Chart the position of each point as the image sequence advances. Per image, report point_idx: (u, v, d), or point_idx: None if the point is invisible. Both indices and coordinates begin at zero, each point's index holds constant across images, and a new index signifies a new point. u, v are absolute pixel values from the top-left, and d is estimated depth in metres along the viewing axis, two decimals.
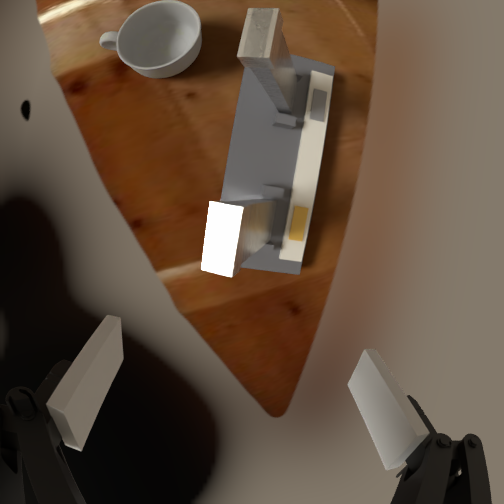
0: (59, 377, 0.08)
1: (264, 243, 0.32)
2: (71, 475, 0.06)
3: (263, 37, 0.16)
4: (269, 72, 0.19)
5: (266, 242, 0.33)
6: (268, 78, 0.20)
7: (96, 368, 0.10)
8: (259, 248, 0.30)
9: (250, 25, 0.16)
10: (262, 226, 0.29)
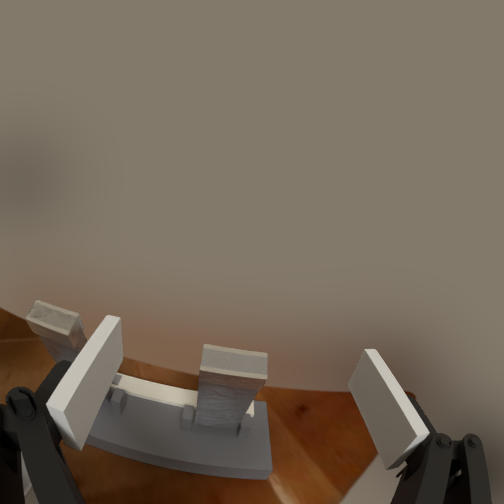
0: (59, 377, 0.08)
1: None
2: (71, 475, 0.06)
3: (58, 314, 0.19)
4: (84, 337, 0.21)
5: None
6: None
7: (96, 369, 0.10)
8: None
9: (42, 320, 0.18)
10: None
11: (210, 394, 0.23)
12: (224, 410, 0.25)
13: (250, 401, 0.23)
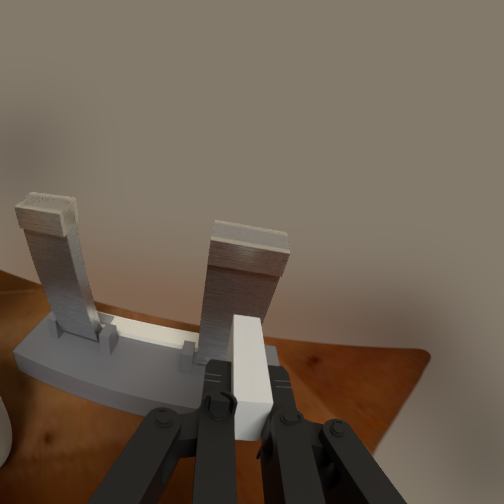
0: (217, 375, 0.11)
1: None
2: None
3: (52, 199, 0.17)
4: (77, 233, 0.19)
5: None
6: (77, 249, 0.20)
7: None
8: None
9: (33, 205, 0.16)
10: None
11: (218, 298, 0.21)
12: None
13: (266, 307, 0.22)
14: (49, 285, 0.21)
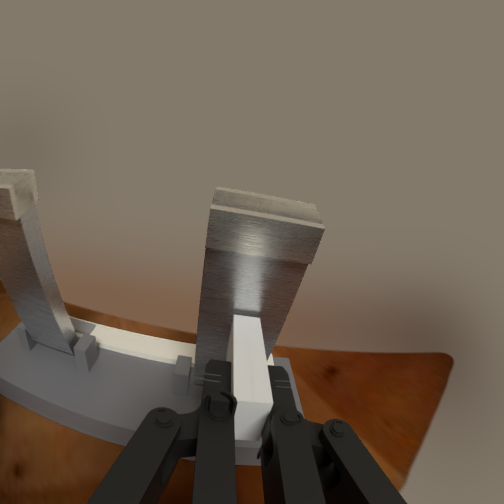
0: (216, 375, 0.11)
1: None
2: None
3: (7, 173, 0.11)
4: (36, 217, 0.13)
5: None
6: (37, 239, 0.14)
7: None
8: None
9: None
10: None
11: (220, 298, 0.15)
12: None
13: (286, 311, 0.16)
14: (11, 286, 0.15)
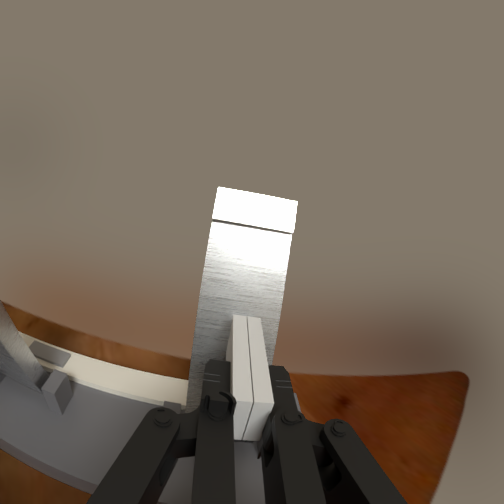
0: (216, 375, 0.11)
1: None
2: None
3: None
4: None
5: None
6: None
7: None
8: None
9: None
10: None
11: (221, 279, 0.17)
12: None
13: (280, 292, 0.17)
14: None
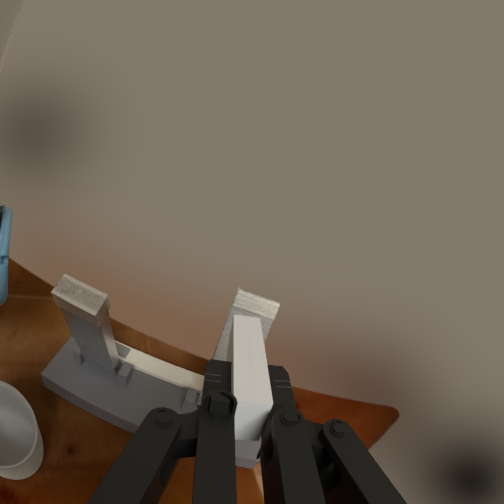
0: (217, 375, 0.11)
1: None
2: None
3: (87, 292, 0.21)
4: (108, 316, 0.23)
5: None
6: (108, 327, 0.24)
7: None
8: None
9: (69, 296, 0.20)
10: None
11: None
12: None
13: None
14: (80, 338, 0.26)
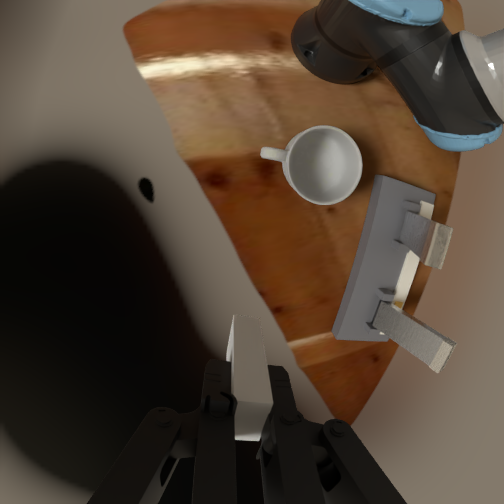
0: (217, 375, 0.11)
1: None
2: None
3: (441, 253, 0.27)
4: None
5: None
6: None
7: None
8: None
9: (435, 240, 0.27)
10: None
11: (424, 335, 0.37)
12: (404, 334, 0.40)
13: (414, 354, 0.38)
14: (417, 223, 0.35)
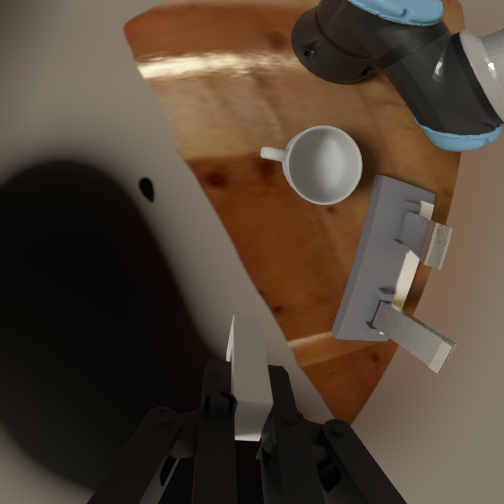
0: (216, 375, 0.11)
1: None
2: None
3: (440, 253, 0.27)
4: None
5: None
6: None
7: None
8: None
9: (435, 240, 0.27)
10: None
11: (424, 335, 0.37)
12: (403, 333, 0.40)
13: (413, 353, 0.38)
14: (416, 223, 0.35)
